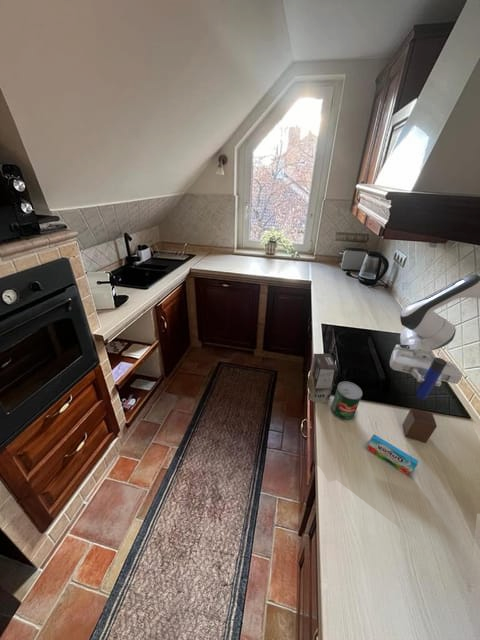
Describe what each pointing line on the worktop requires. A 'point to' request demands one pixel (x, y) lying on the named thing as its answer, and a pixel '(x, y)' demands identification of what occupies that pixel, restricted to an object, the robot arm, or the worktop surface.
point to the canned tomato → (346, 400)
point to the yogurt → (392, 455)
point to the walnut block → (419, 425)
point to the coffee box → (322, 377)
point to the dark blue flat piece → (430, 378)
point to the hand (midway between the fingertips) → (429, 382)
